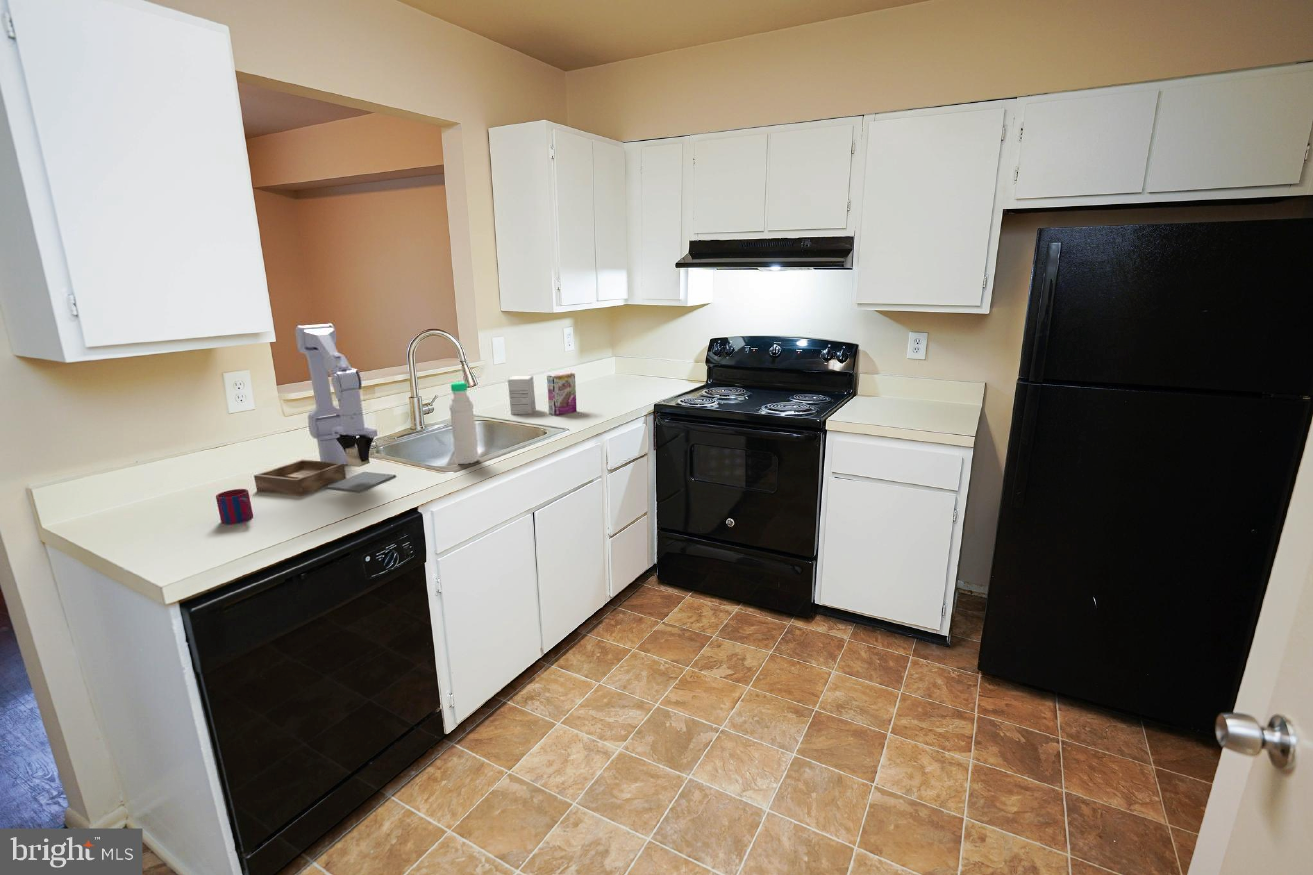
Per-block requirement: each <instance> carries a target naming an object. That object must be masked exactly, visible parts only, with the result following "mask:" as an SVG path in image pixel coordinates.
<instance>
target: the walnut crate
mask: <svg viewBox="0 0 1313 875" xmlns="http://www.w3.org/2000/svg"><path fill="white" fill-rule="evenodd" d="M253 477H254V478H253V479H254V483H255V488H256V491H257V492H265V493H271V494H272V493H273V494H280V495H288V496H295V497H298V496H299V497H301V496H304V495H306V494H308V493H311V492H314V491H317V490H319V489H321V488H325V487H326V486H328V485H331V484H333V483H336V482H339V481H341V480H344V479H346V478H347V476H346V470H345V465H344V463H334V462H324V461H319V460H314V459H313V460H312V459H300V460H296V461H294V462H291V463H288V464H285V465H281V466H278V467H276V468H273V469H269V470H267V471H263V472H260V473H258V474H255V475H253Z"/></svg>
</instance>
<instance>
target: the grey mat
mask: <svg viewBox="0 0 1313 875" xmlns="http://www.w3.org/2000/svg"><path fill="white" fill-rule="evenodd" d="M396 477H397V474H391V473H390V474H389V473H382V472H381V473H379V472H371V471H370V472H369V471H363V472H360V473H357V474H353V475H351V476H349V477H346V478H345V479H342V480H340V481H337V482H335V483H332V484H329V485H327V486H325V489H329V490H336V491H345V492H354V493H360V492H363V491H366V490H368V489H371V488H373V487H375V486H378V485H380V484H382V483H384V482H387V481H390V480H391V479H394V478H396Z"/></svg>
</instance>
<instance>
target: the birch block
mask: <svg viewBox="0 0 1313 875" xmlns="http://www.w3.org/2000/svg"><path fill="white" fill-rule="evenodd" d="M345 450H346V456H347V462H348V464H347V466H348V467H353V468H355V467H356V468H360V467H363V466H365V465H369V464H370V463H371V462H370V458H369V459H368V460H367V461H365V462H361V459H360V456H359V451H358V448H357V446H356V445H355V446H353V447H350V448H347V449H345Z"/></svg>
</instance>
